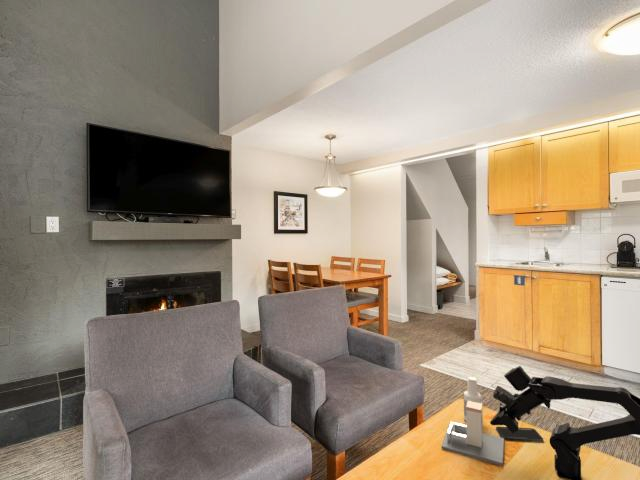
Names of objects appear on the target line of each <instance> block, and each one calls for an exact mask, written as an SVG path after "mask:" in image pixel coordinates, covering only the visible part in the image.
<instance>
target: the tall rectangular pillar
mask: <svg viewBox="0 0 640 480" xmlns="http://www.w3.org/2000/svg"><path fill="white" fill-rule="evenodd" d="M483 407H484V405H483V403H482V402H481V403H476V402H472V401H468V402H467V405H466V418H467V421H466V425H467V444H470V445H473V446H477V447H482V441H483V433H484V432H483V409H484V408H483Z"/></svg>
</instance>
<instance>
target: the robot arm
mask: <svg viewBox="0 0 640 480" xmlns="http://www.w3.org/2000/svg"><path fill="white" fill-rule="evenodd" d="M503 377H504V378H505V380H507V383H509V384H510V385H511V386H512V387H513V388H514V390H516V391H517V392H521V393H516V392H515V393H514V394H512V393H511V392H509V391H508V390H507V389H505V388H503V387H502V386H499V385H497V386H496V388H495V389H494V391H493V394H492V397H493V398H494V399H495V400H497V401H499V402H500V403H499V409H498V412H497V413H496V414H495V416H494V417H493V418H492V419H491V420H490V421H489V423H490V424H491V426H504V427H507V428H508V429H509V430H510V431H511V432H512V433H513V434H515V433H516V432H518V428H519V421H521V420H522V417H523V416H525V415H531V414H532V412H531V411H533V410H535V409H536V408H538V407H539V406H541V405H544V406H546V407H547V409H551V402H552V401H553V400H554V401H555V400H557V401H558V400H559V401H560V400H567V399H579V400H585V401H586V400H588V401H594V402H602V403H609V404H618V405H620V406H621V407H622V408H623V409H624V410H625V411H626V412H627V413H628V415H626V416H624V417H620V418H617V419H611V420H607V421H602V422H599V423H594V424H588V425H585V426H580V427H572V426H570V424H569V422H565V423H564V424H556V425H555V427H554V428H553V430H552V431H551V435H550V436H549V445H550V447H551V448H552V449H553V450H554V451H555V454H554V465H553V466H554V470H555V472H556V476H558V478H562V479H565V480H583V479H582V460H581V457H580V453H581V448H582V446H584V445H586V444H592V443H597V442H602V441H608V440H612V439H617V438H622V437H627V436H633V435H637V436H640V397H638V396H637V395H635V394H633V393H632V392H630V390H628V389H627V388H625V387H620V386H619V387H616V386H615V387H613V386H611V387H610V386H604V385H603V386H602V385H593V384H584V383H583V384H582V383H575V382H570V381H567V380H564V379H562V378H558V377H554V376H549V375H548V376H544V377H538V376H532V377H530V376H529V375H528V374H527V373H526V372H525V370H524V369H523V367H522V366H521V365H519V366H517V367H515V368H512V369H510V370H509V371H507V372H506V373H505V374H504V375H503Z"/></svg>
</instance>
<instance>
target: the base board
mask: <svg viewBox="0 0 640 480" xmlns="http://www.w3.org/2000/svg"><path fill="white" fill-rule="evenodd" d="M449 426H450V424H448V427H447V429H446V433H445V436H444V438H443V441H442V444H441V449H442V450H444V451H448V452H453V453H455V454H458V455H463V456H466V457H469V458H473V459H477V460H480V461H483V462H486V463H490V464H494V465H498V466H500V467H503V466H504V448H505V440H504V438H501V437H500V436H496V435H492V434H488V433H485V432H483V441H482V447H477V446H473V445H470V444H467V445H466V447H465V446H461V445H457V444H454V443H452V438H451V441H450V442H447V432H448V429H449ZM453 432H455V425H454V431H453Z"/></svg>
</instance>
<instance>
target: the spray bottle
mask: <svg viewBox="0 0 640 480" xmlns="http://www.w3.org/2000/svg"><path fill="white" fill-rule="evenodd" d="M477 381H478V379H477V377H474V376H468V377H467V390H465V391H464V392H463V419H464V421H466V422H467V418H466V405H467V402H468V401H472V402H476V403H481V404H482V395H481V394H480V393H479V392H478V382H477Z"/></svg>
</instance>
